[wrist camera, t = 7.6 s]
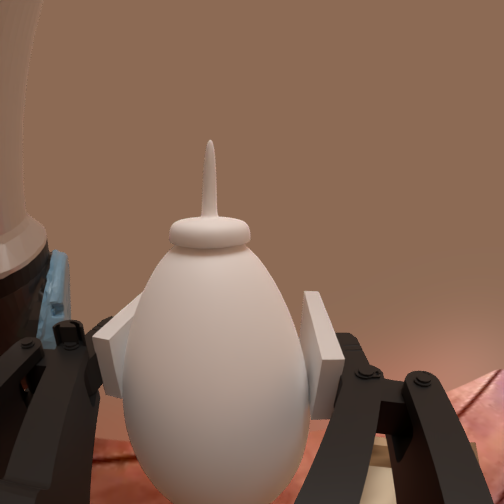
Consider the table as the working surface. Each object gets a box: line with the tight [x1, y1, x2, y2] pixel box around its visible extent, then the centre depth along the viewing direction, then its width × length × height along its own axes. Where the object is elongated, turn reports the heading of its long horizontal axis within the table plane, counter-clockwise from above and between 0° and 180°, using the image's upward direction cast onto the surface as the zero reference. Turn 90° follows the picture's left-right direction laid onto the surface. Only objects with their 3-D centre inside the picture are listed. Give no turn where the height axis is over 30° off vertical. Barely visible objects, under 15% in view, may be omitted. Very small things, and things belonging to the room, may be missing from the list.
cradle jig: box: [360, 437, 479, 504], centre depth 17 cm, size 16×16×4 cm
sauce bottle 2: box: [123, 140, 310, 504], centre depth 11 cm, size 8×8×18 cm
